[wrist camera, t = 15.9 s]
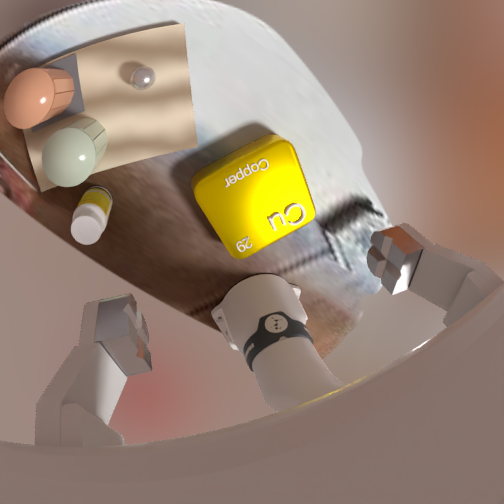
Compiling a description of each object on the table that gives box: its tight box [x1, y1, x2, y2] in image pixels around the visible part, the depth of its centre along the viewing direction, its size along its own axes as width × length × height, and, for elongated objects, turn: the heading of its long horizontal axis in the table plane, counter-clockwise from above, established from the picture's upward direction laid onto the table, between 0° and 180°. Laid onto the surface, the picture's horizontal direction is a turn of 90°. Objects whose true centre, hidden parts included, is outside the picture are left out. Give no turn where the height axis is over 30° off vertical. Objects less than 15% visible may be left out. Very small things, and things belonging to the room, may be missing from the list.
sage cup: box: [42, 117, 108, 187], centre depth 25 cm, size 6×6×8 cm
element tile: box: [191, 134, 315, 259], centre depth 40 cm, size 15×15×5 cm
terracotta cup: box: [4, 68, 74, 129], centre depth 20 cm, size 6×6×8 cm
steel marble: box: [130, 66, 156, 90], centre depth 25 cm, size 3×3×3 cm
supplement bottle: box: [71, 186, 112, 245], centre depth 31 cm, size 5×5×8 cm
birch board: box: [23, 23, 198, 192], centre depth 27 cm, size 17×23×2 cm
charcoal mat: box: [31, 54, 85, 133], centre depth 23 cm, size 8×8×1 cm
